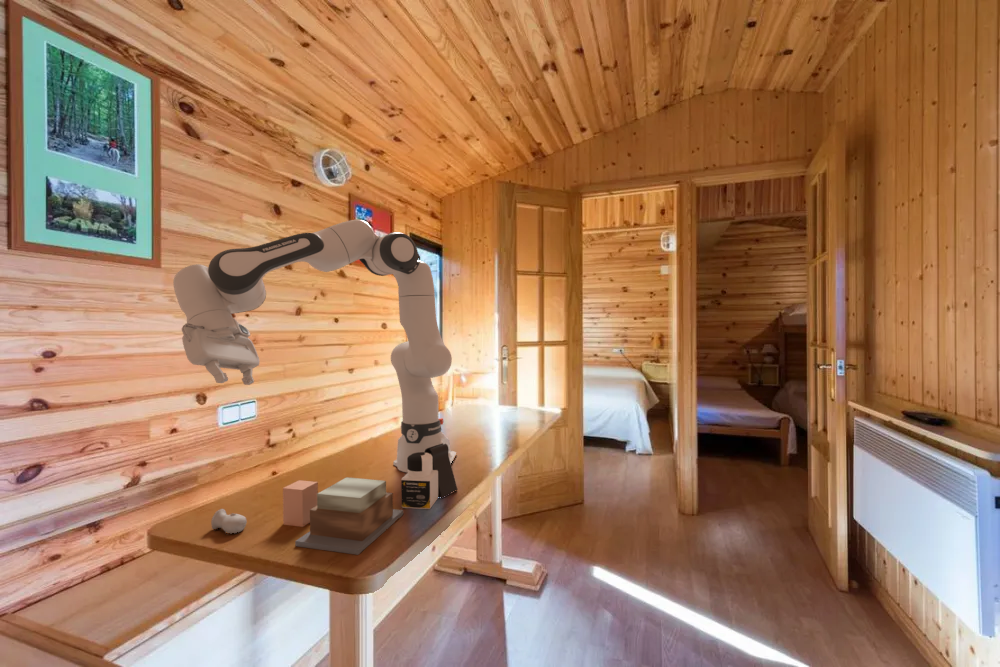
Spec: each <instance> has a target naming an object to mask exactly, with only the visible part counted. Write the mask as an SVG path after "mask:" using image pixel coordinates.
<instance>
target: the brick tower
mask: <svg viewBox="0 0 1000 667" xmlns="http://www.w3.org/2000/svg"><path fill="white" fill-rule="evenodd" d="M393 499H394V498H393V492H387V481H386V480H383V479H382V480H379V479H369V478H357V477H347V476H346V477H344V478H343V479H341V480H339V481H337V482H336V483H334V484H332V485H331V486H328V487H326V488H325V489H323V490H322V491H318V494H317V506H316V507H314V508H312V509H310V522H309V532H310V534H311V535H318V536H326V537H334V538H341V539H349V540H357V541H363V540H364V539H366V538H367V537H368V536H369V535H370V534H371V533H373V532H374V531H375V530H376V529H377V528H379V527H380V526H381V525H382V524H383V523H384V522H386V521H387V520H388V519H389V518H390V517H391V516H393V509H394V508H393V504H394V503H393V502H394V500H393Z"/></svg>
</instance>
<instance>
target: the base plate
mask: <svg viewBox="0 0 1000 667" xmlns="http://www.w3.org/2000/svg"><path fill="white" fill-rule="evenodd" d="M403 515H404V510H403V509H396V508H393V516H391V517H390V518H389V519H388V520H387V521H386V522H384V523H383V524H382V525H381V526H380V527H379V528H377V529H376V530H375V531H374V532H373V533H371V534H370V535H369V536H368V537H367V538H366V539H364V540H363V541H357V540H349V539H341V538H334V537H326V536H318V535H311V534H310V531H308V532H306V533H305V534H304V535H302V536H300V537H299V538H298V539H296V540H295V547H299V548H306V549H307V548H308V549H314V550H323V551H329V552H336V553H344V554H350V555H360V554H361V553H362V552H363V551H365V549H366V548H368V547H369V546H370V545H371V544H372V543H373V542H374V541H375V540H377V539H378V538H379V537H380V536H381V535H382V534H383V533H384V532H385V531H387V530H388V529H389V528H390V527H391V526H392V525H393V524H394V523H396V522H397V521H398V520H399V519H400V518H401V517H403ZM398 518H399V519H398ZM397 519H398V520H397ZM396 520H397V521H396ZM395 521H396V522H395ZM386 529H387V530H386Z"/></svg>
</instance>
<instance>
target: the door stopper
mask: <svg viewBox="0 0 1000 667" xmlns="http://www.w3.org/2000/svg"><path fill="white" fill-rule="evenodd" d="M448 451H449V448H448V446H447V444H443V443H442V444H439V445H436V446H433V447H430V448H427V449H425V452H426V453H429V454H431V455H432V464H433V470H437V471H438V497H441V498H442V497H444V496H446V495H448V494H450V493H451V492H453V491H455V490H458V487H457V483H456V479H455V475H454V471H453V467H452V465H451V463H450V459H449V455H448ZM450 495H451V494H450ZM448 496H449V495H448ZM446 497H447V496H446ZM444 498H445V497H444ZM442 499H443V498H442Z"/></svg>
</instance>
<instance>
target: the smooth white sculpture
mask: <svg viewBox="0 0 1000 667" xmlns="http://www.w3.org/2000/svg"><path fill="white" fill-rule="evenodd" d="M210 522H211V529H212V530H213V529H217V528H219V529H220V528H221V529H222V530H223V531H224V532H225V533H226V532H227V533H230V535H231V534H232V533H234V534H238V533H240V532H242V531H243V530H245V527H246V526H247V522H248V520H247V517H246V516H244V515H242V514H239V513H233V512H232V513H230V514H227V511H226V510H225V508H220V509H218V510H216V511H215V513H214V514H213V516H212V518H211V521H210ZM217 530H218V529H217ZM237 532H238V533H237Z"/></svg>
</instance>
